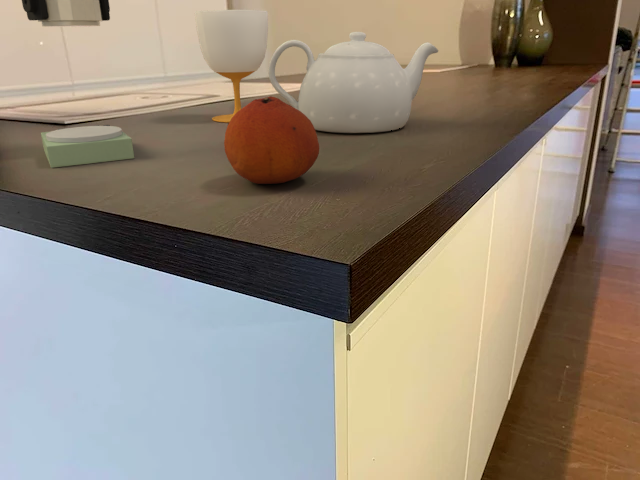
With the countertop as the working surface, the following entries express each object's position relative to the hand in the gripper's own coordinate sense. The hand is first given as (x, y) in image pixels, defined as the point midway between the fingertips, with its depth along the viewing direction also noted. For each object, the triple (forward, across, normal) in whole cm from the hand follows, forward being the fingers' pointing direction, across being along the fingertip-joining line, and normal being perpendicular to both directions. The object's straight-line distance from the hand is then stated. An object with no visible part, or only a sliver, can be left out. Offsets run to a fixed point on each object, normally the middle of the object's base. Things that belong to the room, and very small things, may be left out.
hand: (70, 19), depth 62 cm
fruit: (+16, -1, +29) cm, 33 cm away
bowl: (+1, 0, 0) cm, 1 cm away
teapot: (+16, -33, +18) cm, 41 cm away
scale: (+15, +1, +1) cm, 16 cm away
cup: (+16, -30, -4) cm, 34 cm away
